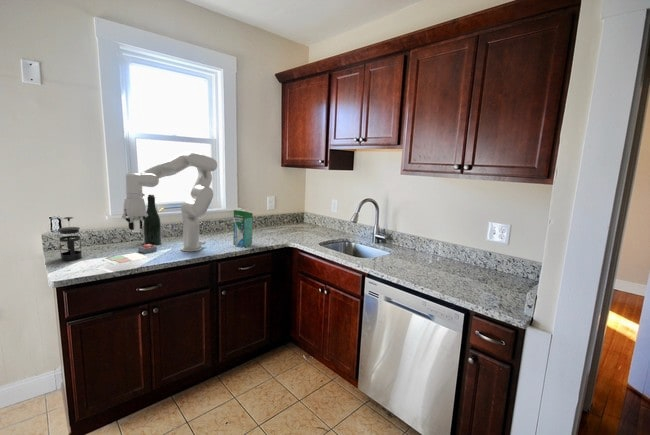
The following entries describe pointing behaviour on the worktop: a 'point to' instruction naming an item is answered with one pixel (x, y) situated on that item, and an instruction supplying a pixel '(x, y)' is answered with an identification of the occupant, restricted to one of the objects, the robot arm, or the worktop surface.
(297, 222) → the worktop surface
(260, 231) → the worktop surface
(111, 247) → the worktop surface
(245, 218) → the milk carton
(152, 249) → the button housing
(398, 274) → the worktop surface
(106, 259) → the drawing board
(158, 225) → the green wine bottle
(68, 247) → the french press
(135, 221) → the translucent whitish cylinder
